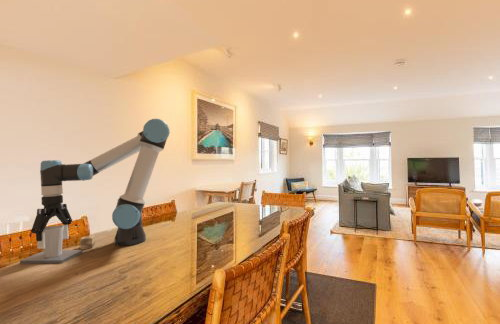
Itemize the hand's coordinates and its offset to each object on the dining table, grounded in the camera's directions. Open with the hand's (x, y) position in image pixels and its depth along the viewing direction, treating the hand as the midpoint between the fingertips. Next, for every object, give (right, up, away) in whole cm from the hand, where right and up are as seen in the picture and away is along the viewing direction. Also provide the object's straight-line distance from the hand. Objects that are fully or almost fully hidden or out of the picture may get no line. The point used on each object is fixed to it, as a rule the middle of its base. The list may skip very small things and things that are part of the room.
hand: (54, 243), depth 117 cm
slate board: (0, -6, 0) cm, 6 cm away
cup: (0, -5, 0) cm, 5 cm away
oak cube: (+6, -6, +14) cm, 17 cm away
